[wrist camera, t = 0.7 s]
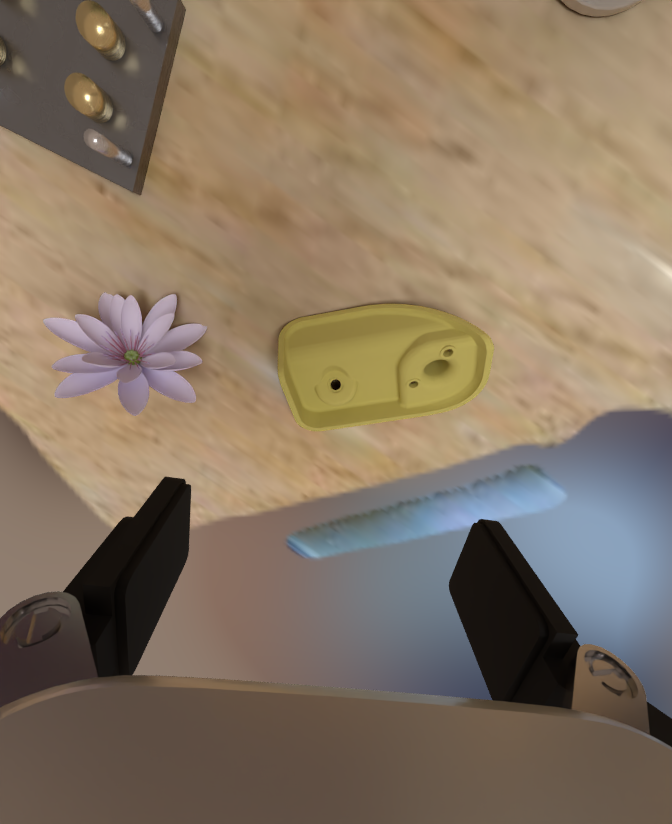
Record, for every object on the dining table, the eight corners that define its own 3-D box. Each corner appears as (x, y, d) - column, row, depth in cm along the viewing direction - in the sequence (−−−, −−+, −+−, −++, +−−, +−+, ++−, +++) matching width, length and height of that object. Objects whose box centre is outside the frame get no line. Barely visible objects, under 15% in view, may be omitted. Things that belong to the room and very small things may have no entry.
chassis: (-40, -130, 24) (-147, -249, 19) (185, 9, 27) (151, -57, 22) (-55, 97, 29) (-144, 55, 23) (140, 195, 32) (102, 179, 26)
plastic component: (301, 434, 39) (273, 367, 32) (302, 388, 44) (279, 321, 37) (482, 407, 37) (498, 330, 30) (462, 362, 42) (472, 286, 35)
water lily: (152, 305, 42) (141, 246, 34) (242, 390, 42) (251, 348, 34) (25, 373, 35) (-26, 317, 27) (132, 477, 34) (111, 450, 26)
